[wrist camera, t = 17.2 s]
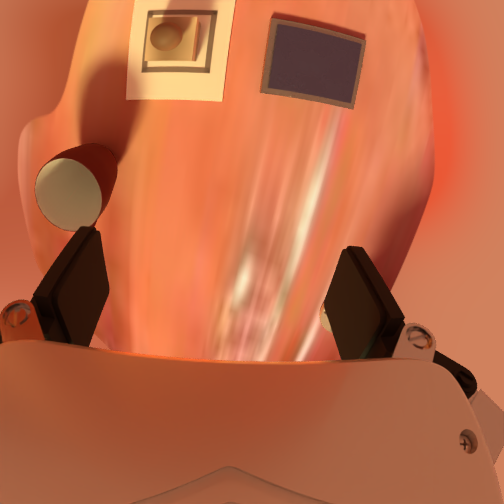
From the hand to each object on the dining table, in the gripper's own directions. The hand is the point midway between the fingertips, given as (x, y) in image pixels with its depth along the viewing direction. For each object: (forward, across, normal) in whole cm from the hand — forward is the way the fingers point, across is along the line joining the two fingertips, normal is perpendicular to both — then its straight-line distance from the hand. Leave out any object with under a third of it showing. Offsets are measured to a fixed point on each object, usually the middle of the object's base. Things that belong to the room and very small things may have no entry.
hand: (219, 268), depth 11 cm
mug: (+26, +15, +6) cm, 30 cm away
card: (+25, +6, -11) cm, 28 cm away
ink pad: (+26, -9, -10) cm, 29 cm away
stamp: (+25, +6, -10) cm, 28 cm away
